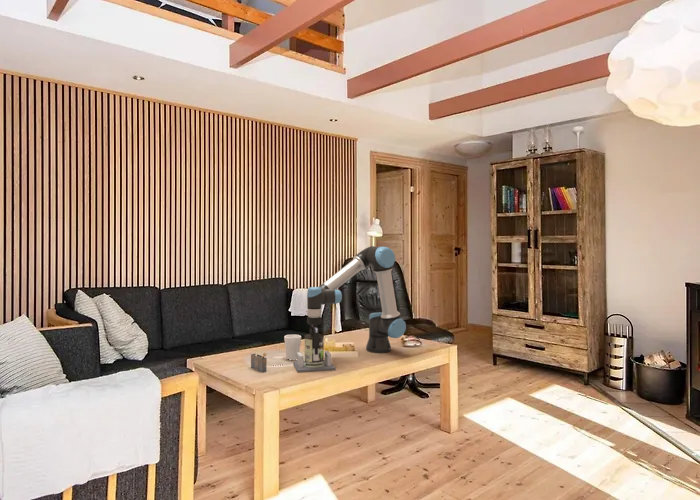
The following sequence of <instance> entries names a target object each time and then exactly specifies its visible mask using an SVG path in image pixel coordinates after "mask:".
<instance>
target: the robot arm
mask: <svg viewBox="0 0 700 500" xmlns="http://www.w3.org/2000/svg"><path fill="white" fill-rule="evenodd" d="M395 262H396V255H395V251H393V249H391V248H390V247H388V246H373V245H372V246H368V247H366V248H364V249H363V250H361V251H359V252H358V253H357V254H356V255H354V256H353V258H352V260H351V261H349V262H348V263H347V264H346V265H344V266H343V267H342V268H341V269H339V270H338V271H337V272H335V273H334V274H333V275H332V276H331V277H329V278H328V279H326V280H325V281H324V282H323V283H321V284H320V285H319V286H312V287H311V286H310V287H308V288H307V292H306V293H307V294H306V299H307V302H306V303H307V305H306V306H307V307H306V308H307V310H305V311H306V314H307V319H306V321H307V325H309V334H311V335H312V336H313V337H314V347H313V361H319V348H320V346H319V334H320V328H319V327H318V325H321V324H322V312H323V311H322V309H323V308H322V306H323V305H332V304H333V305H336V304H340V303H341V302H342V300H343V294H342V291H341V290H340V289H339V288H340V287H341V286H343V284H345V283H346V282H348V281H349V280H350V279H352V278H353V277H354V276H355V275H356V274H358V273H359V272H360V271H364V270H365V269H367V268H369V267H372V272H373V273H375V275H376V281H377V286H378V293H379V298H380V304H381V305H380V306H381V312H372V313H370V314H369V316H368V322H369V323H368V324H369V325H368V339H367V343H366V347H365V350H366V351H368V352H370V353H375V354H377V353H378V354H380V353H381V354H382V353H389V352H391V350H392V348H391V347H392V346H391V342H390V340H389V338H391V339H398V338H400V337H402V336H403V335H404V333H405V332H406V328H407V324H406V321H405V320H404V319H402V316H401V312H400V311H398V308H397V302H396V296H395V289H394V288H395V287H394V283H393V275H392V270H393V268H394V264H395ZM316 345H317V346H316Z"/></svg>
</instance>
